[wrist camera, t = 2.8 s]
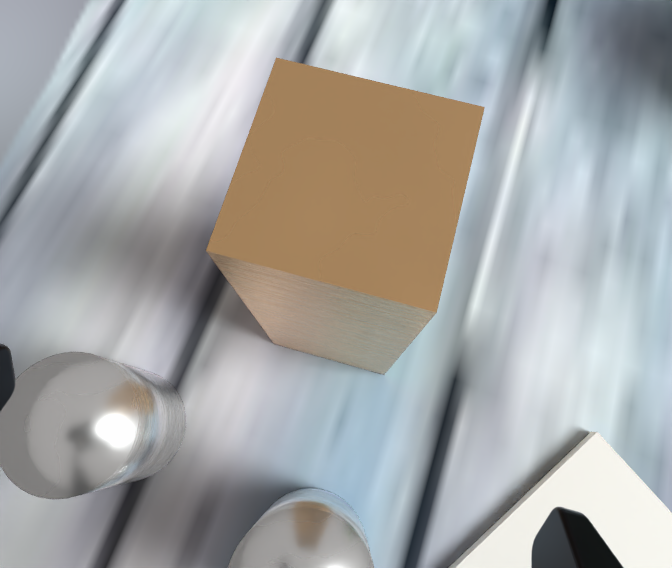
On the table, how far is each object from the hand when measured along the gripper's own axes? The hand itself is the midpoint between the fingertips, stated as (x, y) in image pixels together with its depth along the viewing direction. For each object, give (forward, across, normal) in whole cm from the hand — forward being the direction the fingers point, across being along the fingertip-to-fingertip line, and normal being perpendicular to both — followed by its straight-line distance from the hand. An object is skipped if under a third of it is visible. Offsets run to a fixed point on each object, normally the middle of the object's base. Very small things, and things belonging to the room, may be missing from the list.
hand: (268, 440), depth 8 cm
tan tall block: (+12, 0, +5) cm, 13 cm away
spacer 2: (+6, -1, +11) cm, 12 cm away
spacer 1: (+7, +6, +9) cm, 13 cm away
